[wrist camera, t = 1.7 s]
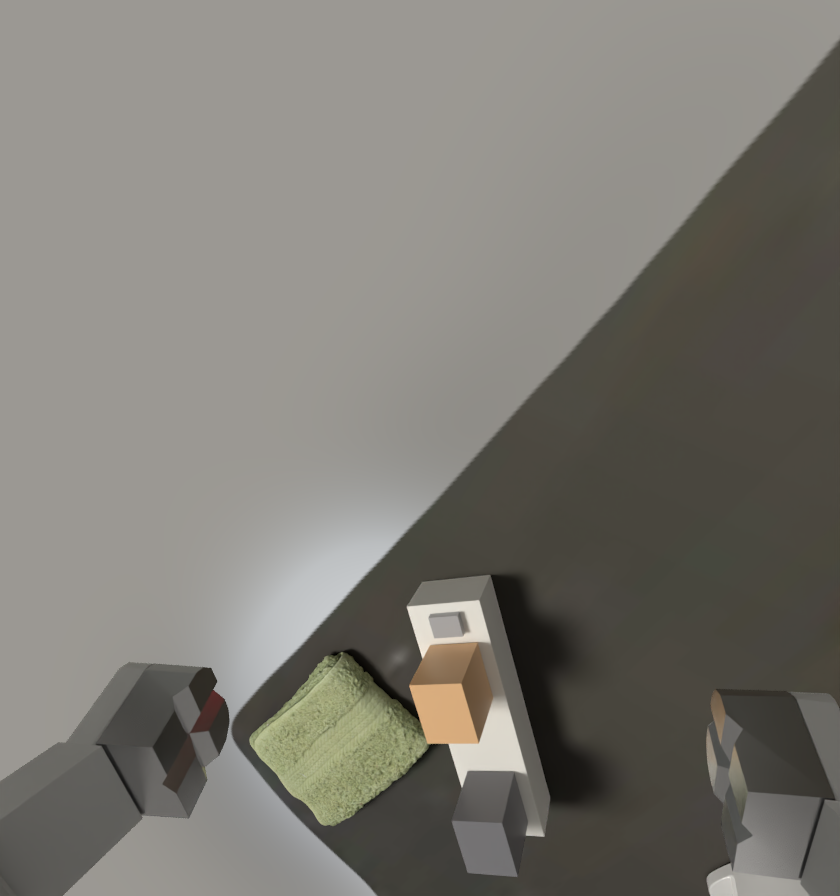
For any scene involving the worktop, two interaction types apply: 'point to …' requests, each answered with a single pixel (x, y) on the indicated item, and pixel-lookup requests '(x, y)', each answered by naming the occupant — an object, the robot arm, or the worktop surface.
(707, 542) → the worktop surface
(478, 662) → the orange charger
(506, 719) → the power strip
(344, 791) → the washcloth
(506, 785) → the block
